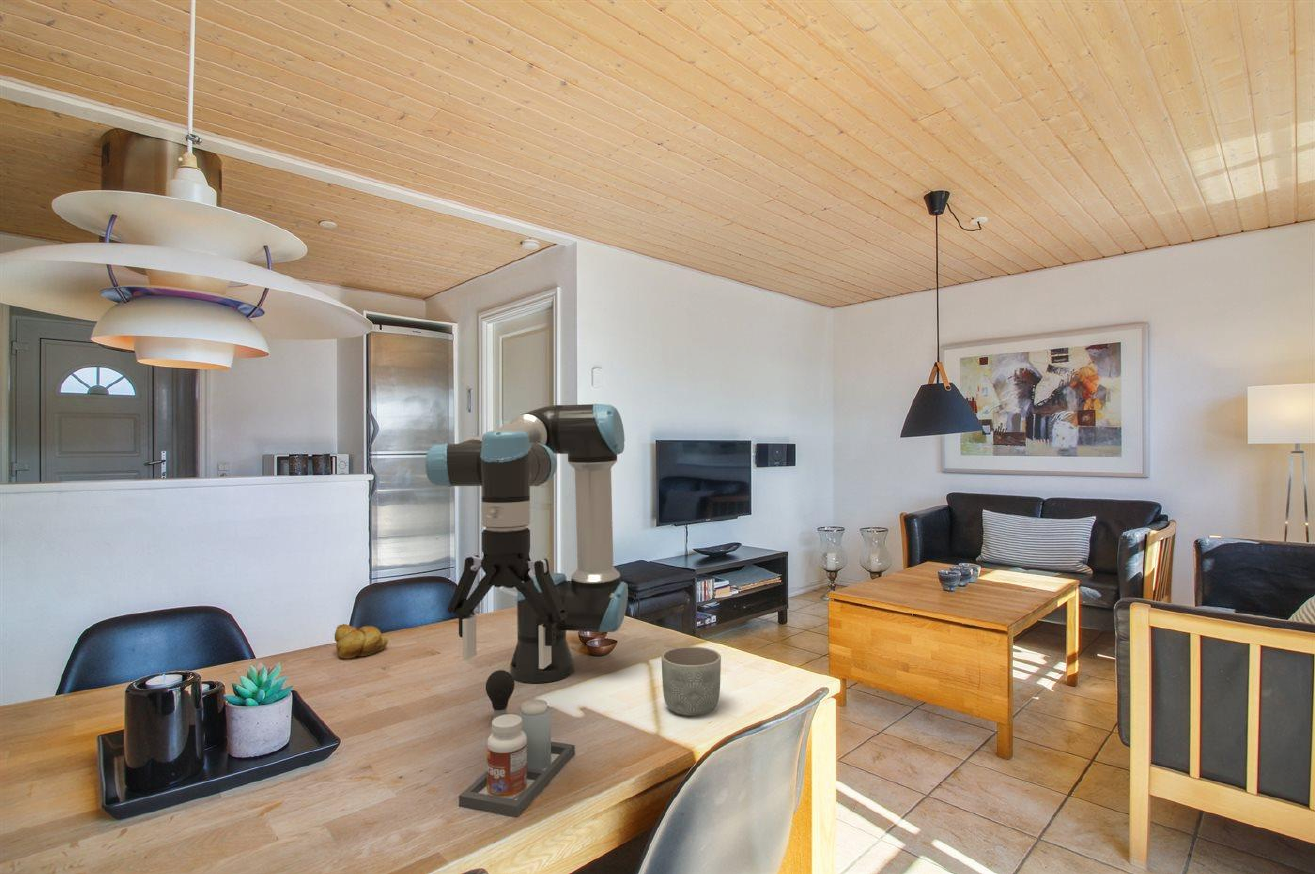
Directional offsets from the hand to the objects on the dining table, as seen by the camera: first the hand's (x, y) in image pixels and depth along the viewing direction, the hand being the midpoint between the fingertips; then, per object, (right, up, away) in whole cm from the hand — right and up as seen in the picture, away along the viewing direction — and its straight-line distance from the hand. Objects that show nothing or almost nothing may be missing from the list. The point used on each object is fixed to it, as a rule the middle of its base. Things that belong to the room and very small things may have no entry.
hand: (506, 661), depth 100 cm
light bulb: (-7, -21, +26) cm, 34 cm away
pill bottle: (0, -20, 0) cm, 20 cm away
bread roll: (-55, -22, +68) cm, 90 cm away
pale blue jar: (+3, -21, +8) cm, 22 cm away
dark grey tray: (+1, -21, +4) cm, 21 cm away
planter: (+31, -21, +31) cm, 49 cm away
